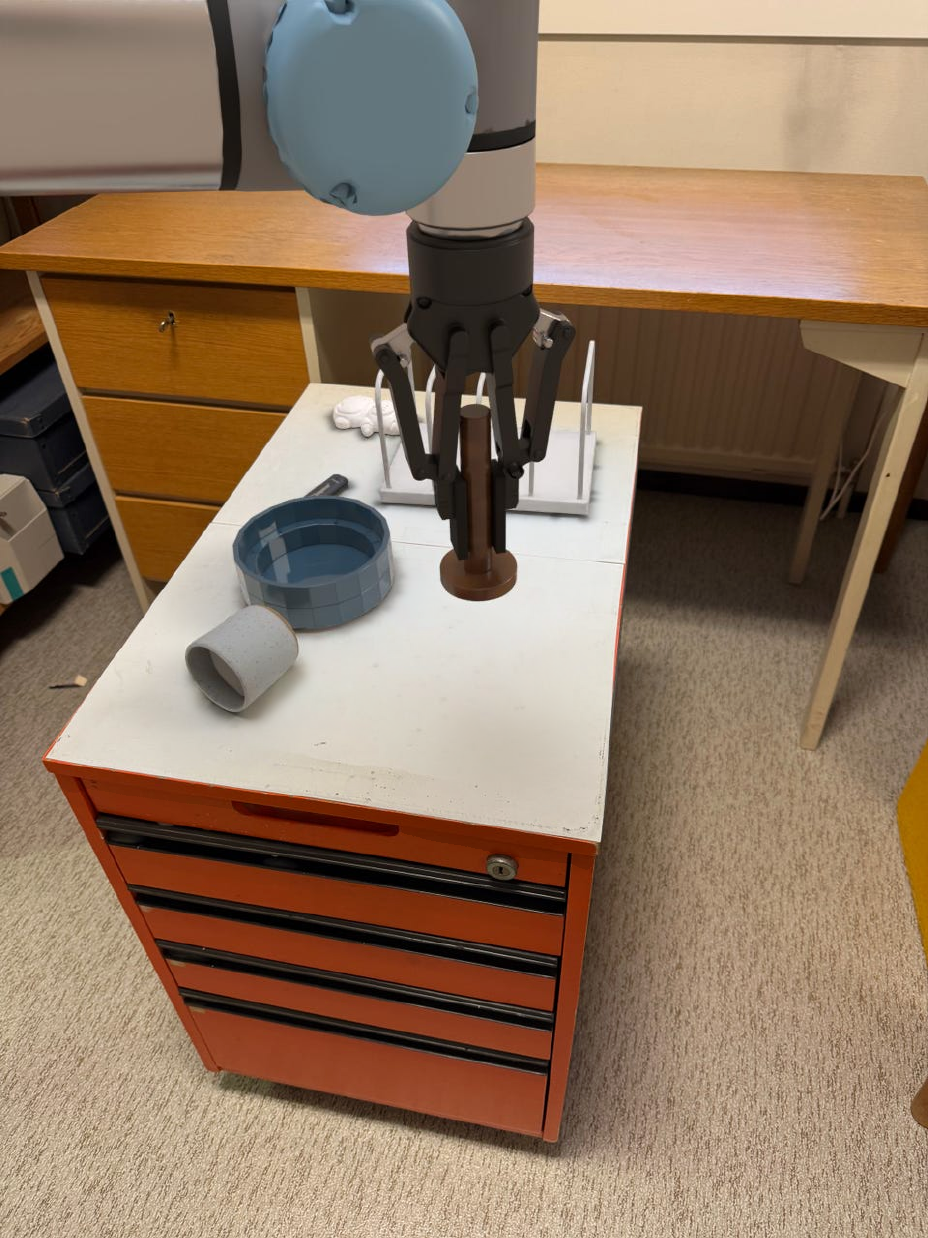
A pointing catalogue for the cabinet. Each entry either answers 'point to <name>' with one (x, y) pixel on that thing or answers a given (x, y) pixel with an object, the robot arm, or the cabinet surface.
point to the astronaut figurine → (365, 415)
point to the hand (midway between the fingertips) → (477, 545)
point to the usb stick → (330, 486)
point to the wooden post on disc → (477, 518)
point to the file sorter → (542, 486)
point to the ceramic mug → (242, 656)
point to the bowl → (315, 560)
